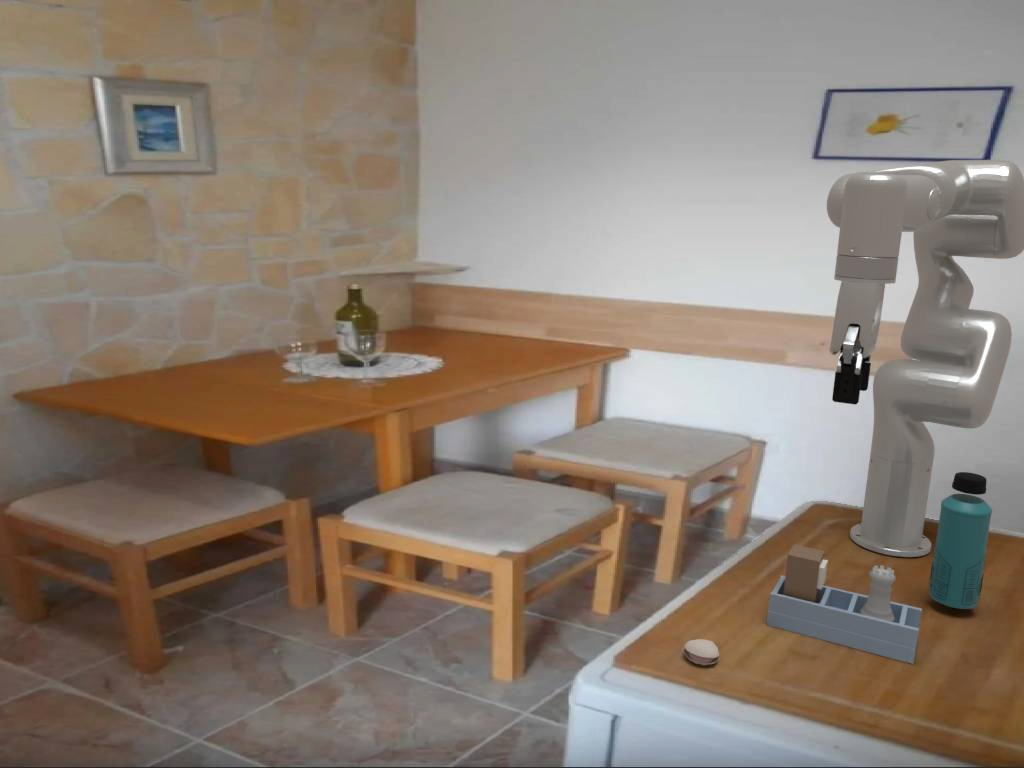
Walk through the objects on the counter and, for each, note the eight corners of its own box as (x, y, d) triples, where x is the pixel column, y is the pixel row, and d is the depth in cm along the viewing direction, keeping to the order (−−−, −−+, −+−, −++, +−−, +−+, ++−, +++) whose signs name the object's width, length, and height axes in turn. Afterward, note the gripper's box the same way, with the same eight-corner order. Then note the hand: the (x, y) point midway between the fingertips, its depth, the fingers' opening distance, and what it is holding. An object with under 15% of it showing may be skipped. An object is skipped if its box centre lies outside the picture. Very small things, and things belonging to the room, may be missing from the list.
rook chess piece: (902, 632, 106) (910, 575, 104) (873, 636, 105) (881, 578, 103) (877, 615, 110) (885, 560, 108) (849, 619, 109) (857, 563, 107)
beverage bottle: (984, 622, 113) (1007, 484, 109) (932, 616, 115) (953, 480, 110) (968, 600, 120) (989, 469, 115) (919, 595, 121) (938, 465, 117)
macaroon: (678, 661, 101) (679, 643, 101) (694, 644, 105) (696, 627, 105) (711, 673, 99) (713, 654, 98) (726, 656, 103) (728, 637, 102)
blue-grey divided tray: (777, 604, 117) (785, 538, 115) (917, 639, 108) (928, 569, 106) (766, 624, 111) (773, 555, 109) (913, 664, 102) (924, 590, 100)
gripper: (844, 265, 118) (831, 381, 121) (824, 272, 103) (810, 404, 107) (902, 268, 114) (886, 388, 118) (890, 276, 99) (872, 412, 103)
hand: (850, 395), depth 112 cm, fingers open, 9 cm apart
